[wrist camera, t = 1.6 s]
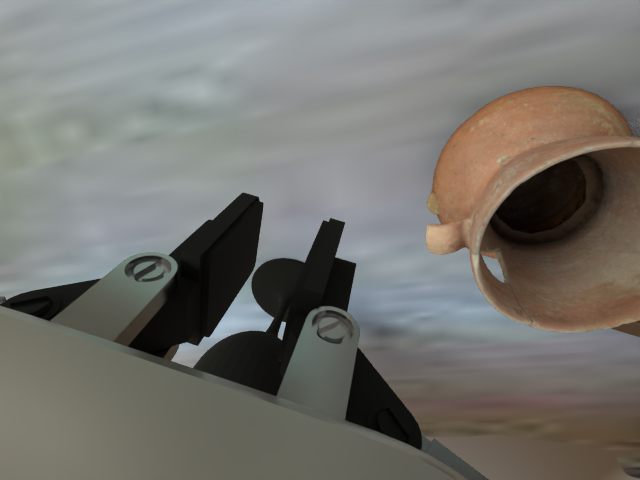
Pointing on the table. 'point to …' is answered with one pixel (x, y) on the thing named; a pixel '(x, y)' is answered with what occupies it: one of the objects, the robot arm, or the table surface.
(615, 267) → the ceramic jug
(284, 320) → the wine glass
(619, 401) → the table surface
